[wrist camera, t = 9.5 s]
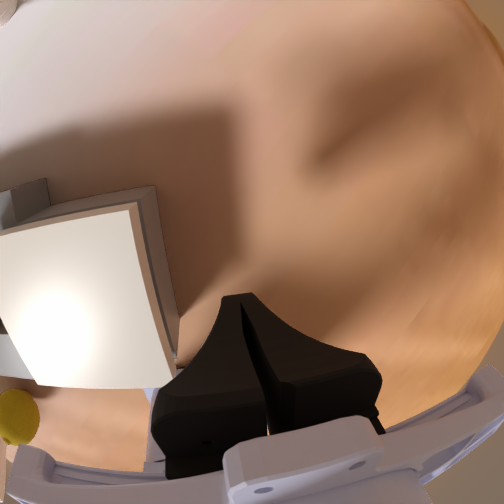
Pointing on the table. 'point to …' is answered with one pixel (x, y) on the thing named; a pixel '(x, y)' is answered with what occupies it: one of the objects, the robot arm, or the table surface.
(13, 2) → the pipe fitting
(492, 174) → the table surface
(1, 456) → the cup
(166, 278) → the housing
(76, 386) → the cream square tile
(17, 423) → the lemon
